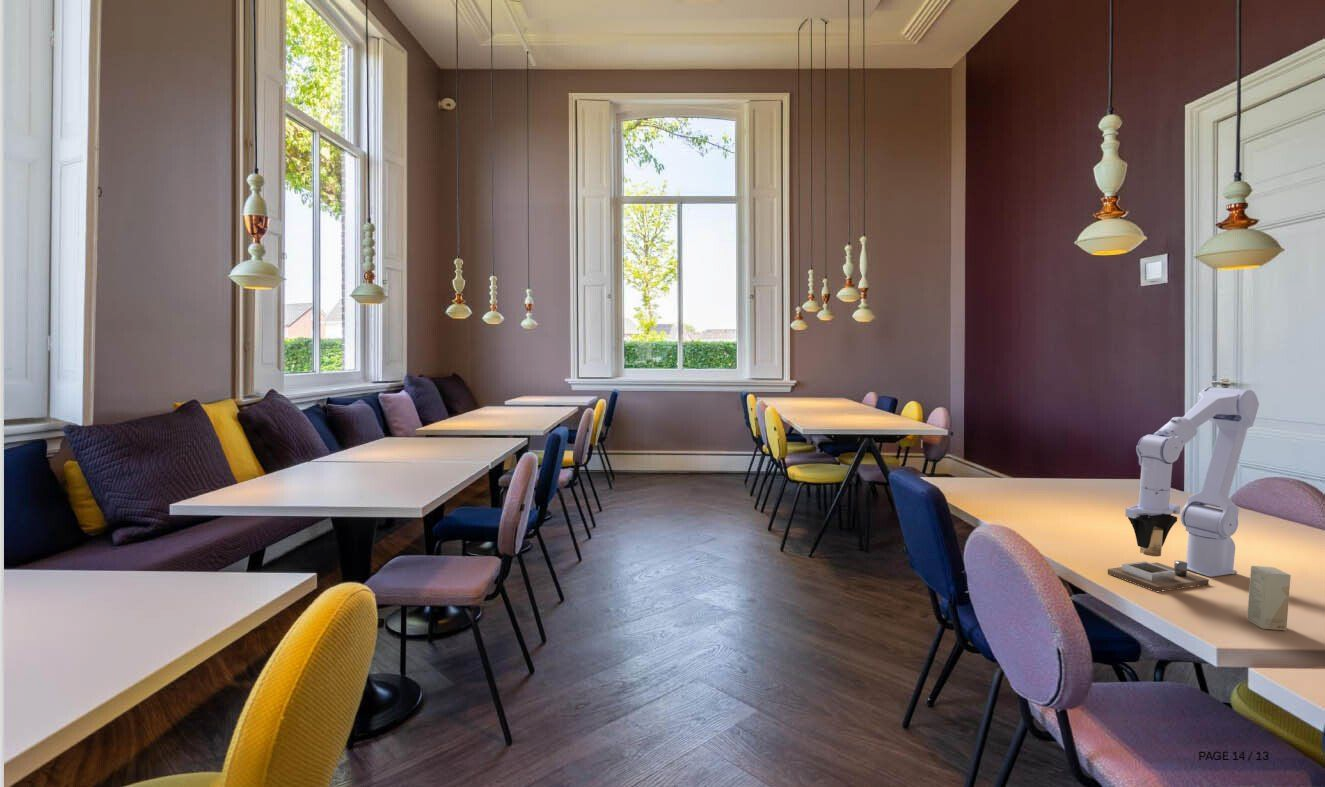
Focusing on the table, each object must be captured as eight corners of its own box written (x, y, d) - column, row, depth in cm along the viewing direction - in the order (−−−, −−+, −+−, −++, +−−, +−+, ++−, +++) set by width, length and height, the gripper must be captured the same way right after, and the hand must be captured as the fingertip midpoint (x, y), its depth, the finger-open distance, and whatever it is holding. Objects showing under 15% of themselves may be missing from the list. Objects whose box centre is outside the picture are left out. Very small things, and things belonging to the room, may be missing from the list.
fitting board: (1156, 567, 172) (1158, 550, 172) (1208, 584, 161) (1209, 566, 160) (1107, 573, 167) (1108, 556, 166) (1157, 592, 156) (1158, 573, 155)
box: (1287, 631, 136) (1292, 575, 135) (1261, 629, 137) (1266, 573, 136) (1269, 620, 141) (1275, 566, 140) (1245, 618, 142) (1250, 564, 141)
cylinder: (1147, 549, 165) (1149, 524, 164) (1165, 555, 161) (1167, 529, 160) (1135, 551, 163) (1138, 526, 162) (1153, 557, 159) (1155, 531, 159)
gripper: (1148, 493, 155) (1143, 554, 156) (1195, 489, 159) (1190, 548, 161) (1118, 486, 161) (1114, 544, 163) (1164, 483, 166) (1160, 539, 167)
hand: (1150, 546), depth 162 cm, fingers closed on cylinder, 4 cm apart
